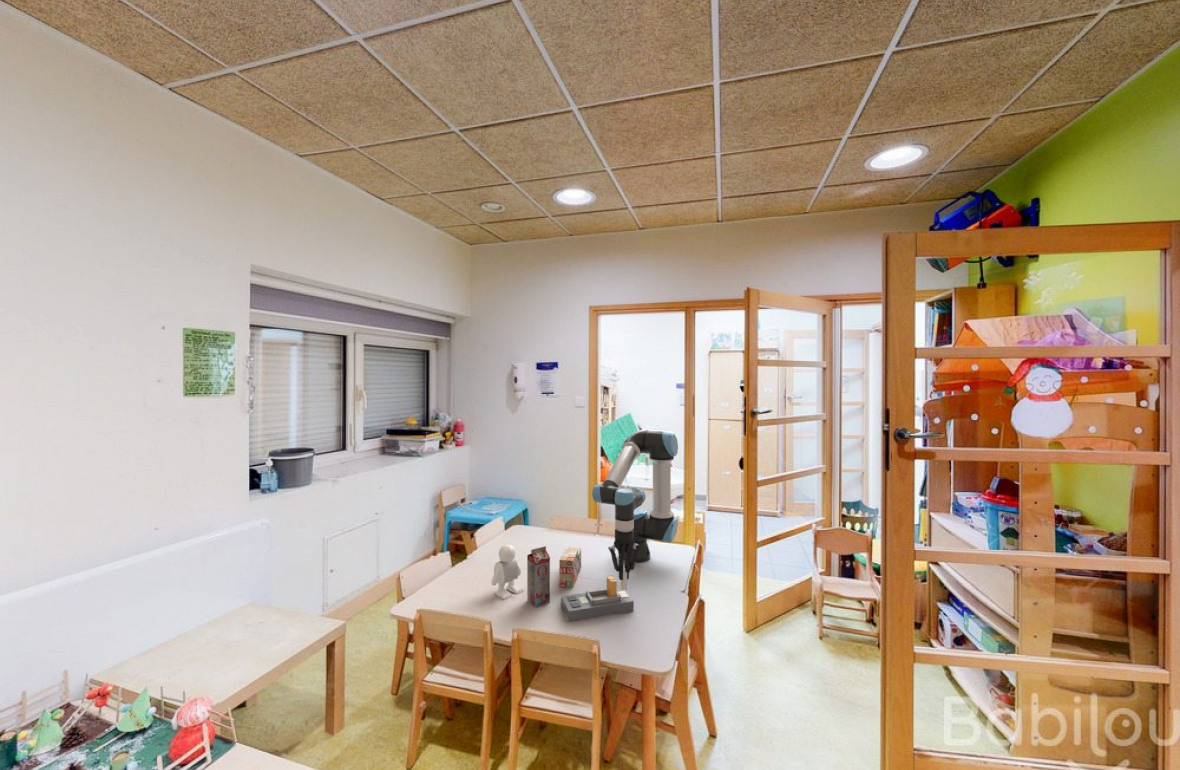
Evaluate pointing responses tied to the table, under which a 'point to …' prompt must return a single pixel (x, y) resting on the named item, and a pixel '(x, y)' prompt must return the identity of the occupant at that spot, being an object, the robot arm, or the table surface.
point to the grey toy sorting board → (596, 604)
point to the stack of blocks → (569, 567)
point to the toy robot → (506, 572)
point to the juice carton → (538, 577)
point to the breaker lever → (611, 586)
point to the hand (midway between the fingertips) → (623, 587)
